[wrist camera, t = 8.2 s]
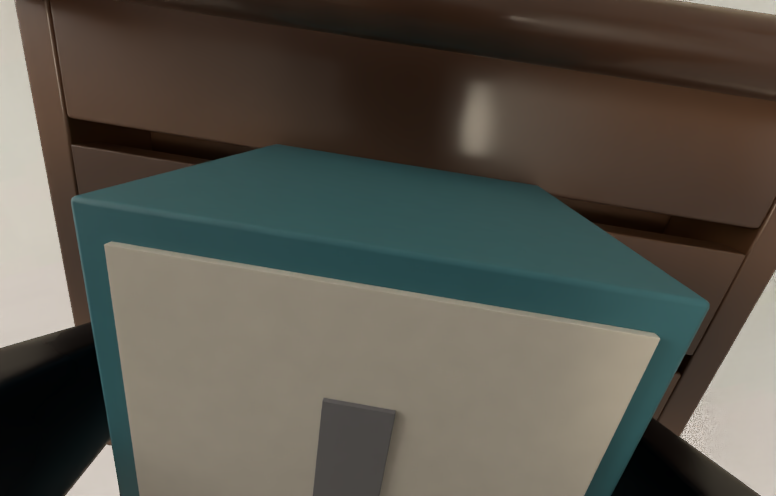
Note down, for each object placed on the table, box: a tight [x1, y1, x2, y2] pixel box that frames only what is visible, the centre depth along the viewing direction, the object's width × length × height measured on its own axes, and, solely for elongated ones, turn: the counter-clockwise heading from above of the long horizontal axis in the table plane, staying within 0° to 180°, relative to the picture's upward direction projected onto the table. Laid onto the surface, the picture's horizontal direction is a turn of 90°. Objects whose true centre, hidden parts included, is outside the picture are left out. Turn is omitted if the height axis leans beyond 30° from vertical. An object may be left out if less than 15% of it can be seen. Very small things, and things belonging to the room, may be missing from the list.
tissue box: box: [71, 144, 710, 496], centre depth 7 cm, size 8×6×6 cm
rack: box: [14, 0, 776, 445], centre depth 11 cm, size 14×18×8 cm
